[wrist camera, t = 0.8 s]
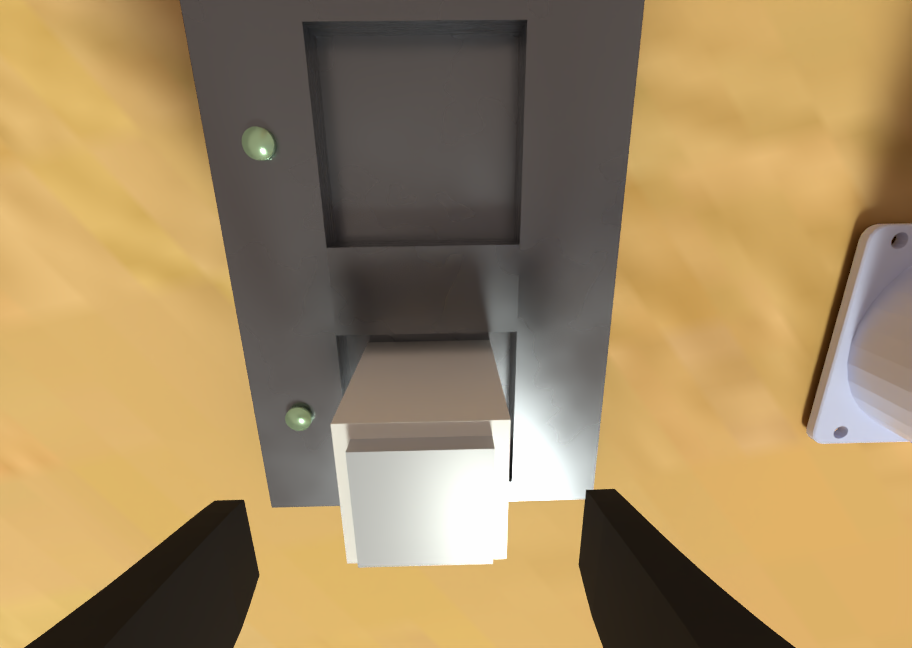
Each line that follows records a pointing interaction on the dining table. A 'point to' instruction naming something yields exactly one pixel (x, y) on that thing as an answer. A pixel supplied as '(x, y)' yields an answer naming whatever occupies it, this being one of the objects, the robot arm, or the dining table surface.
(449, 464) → the beige rectangular block
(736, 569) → the dining table surface
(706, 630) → the robot arm
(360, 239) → the panel
